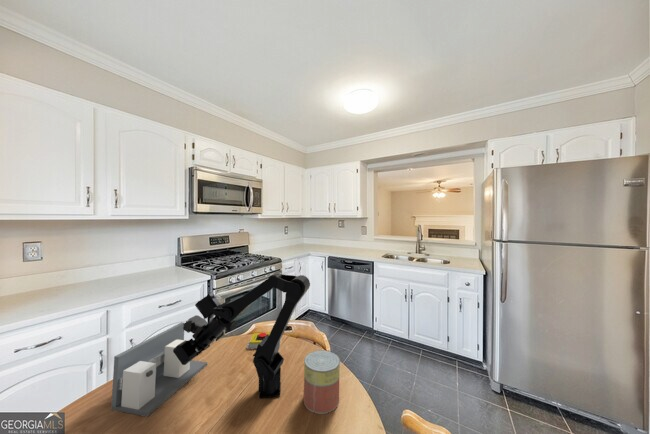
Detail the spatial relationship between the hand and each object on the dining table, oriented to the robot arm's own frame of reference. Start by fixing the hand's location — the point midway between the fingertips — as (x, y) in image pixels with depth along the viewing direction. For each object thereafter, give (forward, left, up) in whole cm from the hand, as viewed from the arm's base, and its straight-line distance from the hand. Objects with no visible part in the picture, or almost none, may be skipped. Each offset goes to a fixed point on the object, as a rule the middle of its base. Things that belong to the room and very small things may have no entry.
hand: (185, 356), depth 81 cm
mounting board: (+5, +3, -7) cm, 9 cm away
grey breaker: (+8, +12, -6) cm, 15 cm away
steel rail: (+9, +2, -2) cm, 9 cm away
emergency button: (-26, -21, -8) cm, 34 cm away
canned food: (-46, +17, -7) cm, 50 cm away
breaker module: (+3, -1, -6) cm, 6 cm away
